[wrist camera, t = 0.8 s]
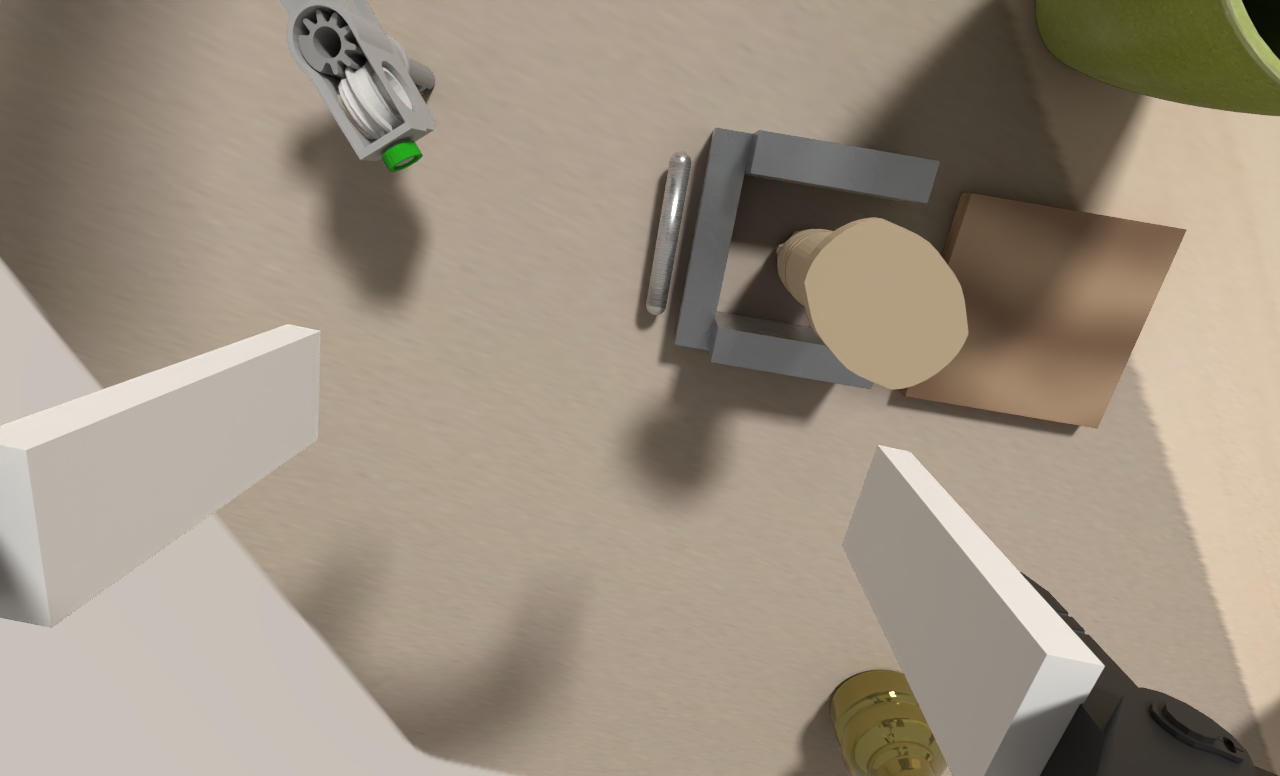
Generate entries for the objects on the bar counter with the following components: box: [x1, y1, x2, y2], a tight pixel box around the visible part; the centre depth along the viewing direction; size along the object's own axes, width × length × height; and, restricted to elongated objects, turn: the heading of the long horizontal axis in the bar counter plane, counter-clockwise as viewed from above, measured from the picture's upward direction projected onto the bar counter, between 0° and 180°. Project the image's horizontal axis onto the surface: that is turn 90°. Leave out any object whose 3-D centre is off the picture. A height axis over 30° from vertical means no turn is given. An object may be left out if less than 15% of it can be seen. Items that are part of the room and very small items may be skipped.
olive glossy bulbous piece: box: [830, 670, 948, 776], centre depth 42 cm, size 7×8×10 cm
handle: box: [776, 217, 969, 390], centre depth 29 cm, size 5×6×15 cm
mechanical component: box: [280, 0, 435, 172], centre depth 29 cm, size 3×10×10 cm, turn 28°
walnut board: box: [898, 193, 1186, 428], centre depth 35 cm, size 12×12×1 cm
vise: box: [646, 128, 940, 389], centre depth 33 cm, size 12×13×4 cm
